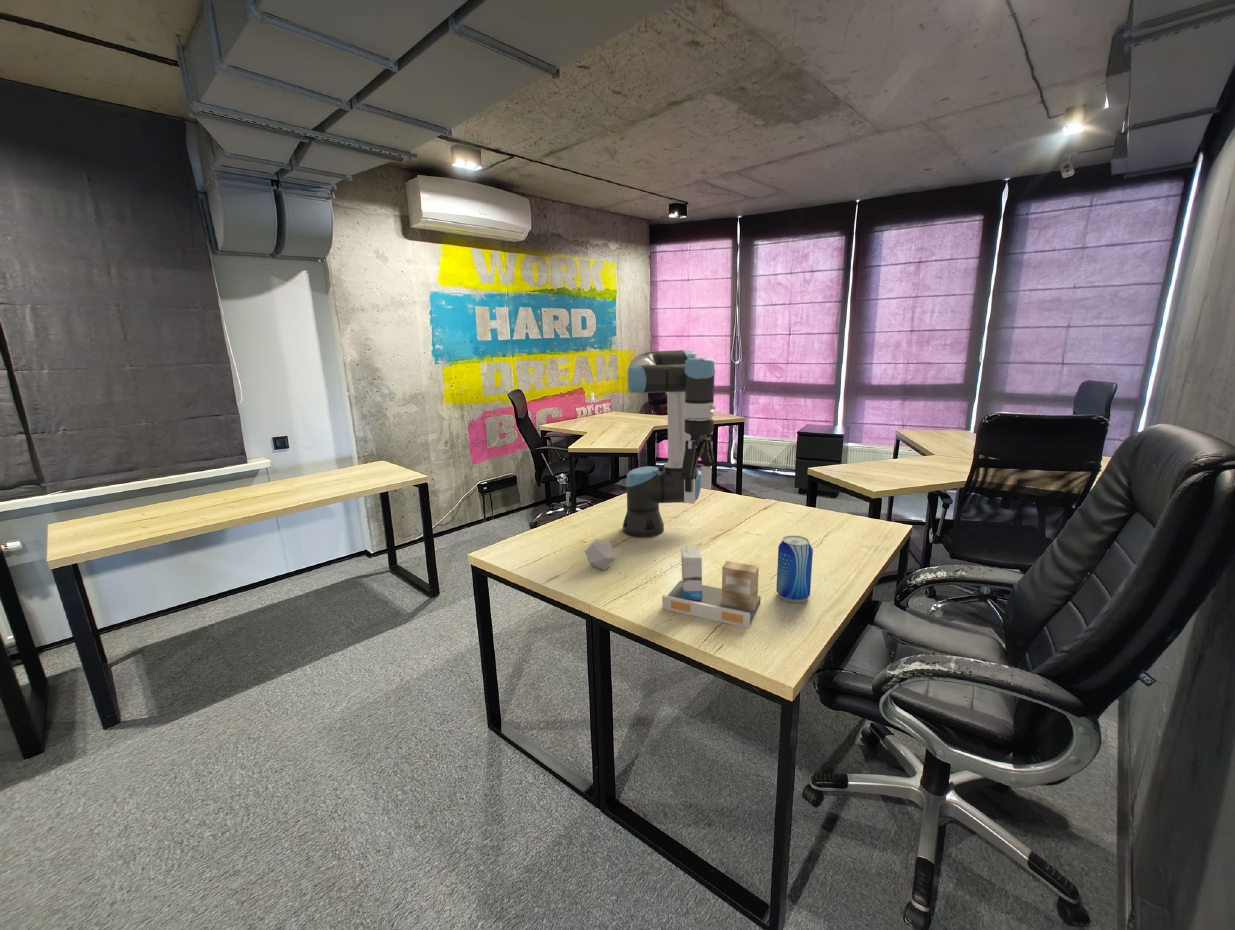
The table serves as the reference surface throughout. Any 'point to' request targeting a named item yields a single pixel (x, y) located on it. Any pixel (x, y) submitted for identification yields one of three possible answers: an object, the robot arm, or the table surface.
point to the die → (600, 554)
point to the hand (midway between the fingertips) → (698, 495)
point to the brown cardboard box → (740, 585)
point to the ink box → (691, 572)
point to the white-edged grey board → (708, 606)
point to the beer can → (794, 569)
